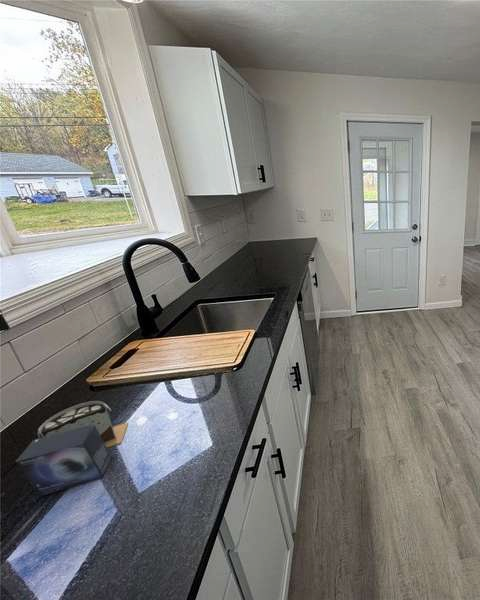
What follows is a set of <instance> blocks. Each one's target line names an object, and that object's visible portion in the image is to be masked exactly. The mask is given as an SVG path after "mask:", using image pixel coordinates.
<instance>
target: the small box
mask: <svg viewBox="0 0 480 600" xmlns="http://www.w3.org/2000/svg"><path fill="white" fill-rule="evenodd" d="M113 459H114V457H113V455H112V454H111V452H110V450H109V448H107V447H106V445H105V443H104V441H103V440H102V438H101V436H100V434H99V433H98V431H97V429H96V426H95V424H92V425H88V426H84V427H81V428H77V429H73V430H69V431H65V432H62V433H58V434H54V435H50V436H47V437H41V438H39V437H38V438H35V439H33V440H32V441H31V442H30V443H29V445H28V446H26V449H25V450H24V451H23V452H22V453H21V454H20V456H19V457H18V458H17V459H16V461H15V463H16V464H17V465H18V466H19V468H20V469H21V470H22V472H23V473H24V475H25V476H26V478H27V479H28V480H29V482H30V483H31V484H32V486H33V487H34V489H35V490H36V491H37V493H38V494H39V495H40V497H42V498H43V497H45V496H47V495H51V494H54V493H58V492H62V491H65V490H67V489H71V488H74V487H76V486H80V485H83V484H86V483H90V482H93V481H97V480H100V479H102V478H103V477H104V476H105V474H106V472H107V470H108V468H109V466H110V464H111V462H112V460H113Z"/></svg>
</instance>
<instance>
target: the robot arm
mask: <svg viewBox="0 0 480 600" xmlns="http://www.w3.org/2000/svg"><path fill="white" fill-rule="evenodd" d="M9 329H11V327H10V325H9V324H8V321H7V320H6V318H5V316H4V315H3V311H2V310H1V309H0V332H4V331H8V330H9Z"/></svg>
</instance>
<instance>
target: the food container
mask: <svg viewBox="0 0 480 600" xmlns="http://www.w3.org/2000/svg"><path fill="white" fill-rule="evenodd" d="M108 410H109V411H108ZM111 411H112V409H111V408H110V407H109V406H108V404H107V403H105V402H103V401H101V400H93V401H91V400H90V401H86V402H82V403H78V404H76V405H73V406H71V407H68V408H66V409H64V410H61V411H59V412H58V413H56V414H54V415H52V416H51V417H50V418H48V419H46V420H45V421H44V422H43V423H42V424H41V425H39V427H38V430H37V437H38V439H39V438H43V437H47V436H50V435H54V434H58V433H62V432H65V431H69V430H73V429H77V428H81V427H84V426H88V425H92V424H95V426H96V429H97V431H98V433H99V434H100V436H101V438H102V440H103V441H104V443H105V444H106V443H108V442H110V441H112V440H115V439H116V436H115V433H114V430H113V427H114V426H113V424H112V421H111V418H110V415H109V412H111Z"/></svg>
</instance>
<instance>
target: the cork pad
mask: <svg viewBox="0 0 480 600" xmlns="http://www.w3.org/2000/svg"><path fill="white" fill-rule="evenodd" d="M128 425H129V422H125V423H122V424H119V425H115V426H112V427H113V430H114V433H115V436H116V439H115V440H112V441H110V442H108V443H106V444H105V445H106V447H107V448H108V449H109V448H112V447H115V446H117V445H120V444H122V441H123V439H124V436H125V434H126V432H127V428H128Z"/></svg>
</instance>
